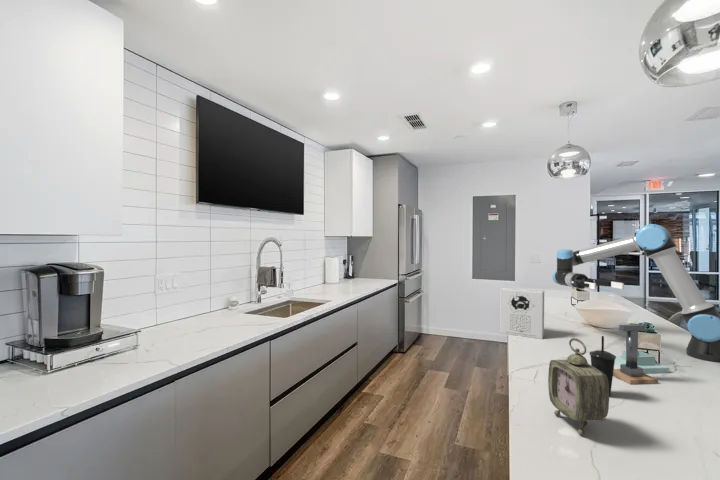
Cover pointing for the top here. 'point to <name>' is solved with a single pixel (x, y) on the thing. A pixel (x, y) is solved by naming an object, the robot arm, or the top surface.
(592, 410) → the tabletop clock
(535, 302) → the cereal box
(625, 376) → the walnut pad
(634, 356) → the t key
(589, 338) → the top surface
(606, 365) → the drinking cup
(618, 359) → the square socket base
